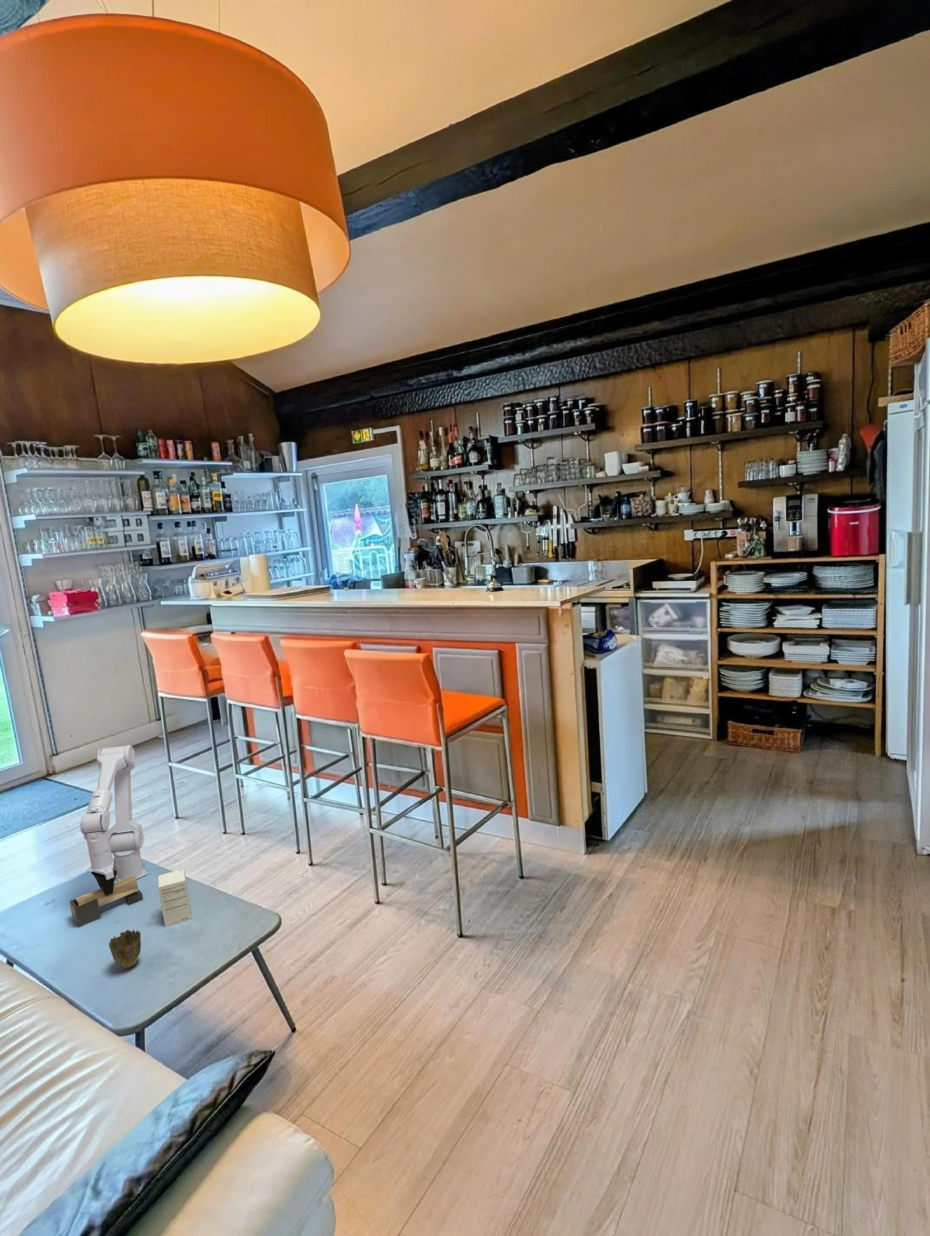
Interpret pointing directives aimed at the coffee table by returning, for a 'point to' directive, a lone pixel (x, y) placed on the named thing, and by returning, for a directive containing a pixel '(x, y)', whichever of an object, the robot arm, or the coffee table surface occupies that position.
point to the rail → (119, 891)
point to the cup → (126, 948)
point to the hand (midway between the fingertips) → (107, 892)
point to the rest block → (133, 897)
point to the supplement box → (174, 897)
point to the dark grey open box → (85, 912)
